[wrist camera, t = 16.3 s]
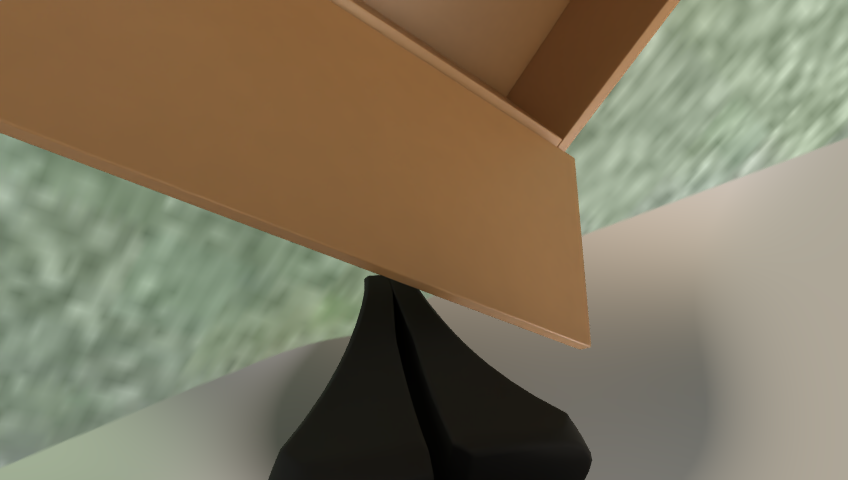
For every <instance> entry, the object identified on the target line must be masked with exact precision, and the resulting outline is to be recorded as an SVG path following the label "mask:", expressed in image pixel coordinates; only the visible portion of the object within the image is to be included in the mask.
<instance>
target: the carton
mask: <svg viewBox="0 0 848 480" xmlns="http://www.w3.org/2000/svg"><path fill="white" fill-rule="evenodd" d="M330 1H331V2H333V3H334V4H336V5H337V6H339V7H340V8H342V9H344V10H345V11H347V12H348V13H350V14H351V15H353V16H354V17H356V18H358V19H359V20H361V21H362V22H364V23H365V24H367V25H368V26H370V27H372V28H373V29H375V30H376V31H378V32H379V33H381V34H382V35H384V36H386V37H387V38H389V39H390V40H392V41H393V42H395V43H396V44H398V45H399V46H401V47H403V48H404V49H406V50H407V51H409V52H410V53H412V54H413V55H415V56H417V57H418V58H420V59H421V60H423V61H424V62H426V63H427V64H429V65H431V66H432V67H434V68H435V69H437V70H438V71H440V72H441V73H443V74H444V75H446V76H448V77H449V78H451V79H452V80H454V81H455V82H457V83H458V84H460V85H462V86H463V87H465V88H466V89H468V90H469V91H471V92H472V93H474V94H476V95H477V96H479V97H480V98H482V99H483V100H485V101H486V102H488V103H489V104H491V105H493V106H494V107H496V108H497V109H499V110H500V111H502V112H503V113H505V114H507V115H508V116H510V117H511V118H513V119H514V120H516V121H517V122H519V123H521V124H522V125H524V126H525V127H527V128H528V129H530V130H531V131H533V132H534V133H536V134H538V135H539V136H541V137H542V138H544V139H545V140H547V141H548V142H550V143H552V144H553V145H555V146H556V147H558V148H559V149H561V150H562V151H564V152H565V151H566V149H567V148H568V147H569V145H570V144H571V143H572V141H573V140H574V139H575V137H576V136H577V135H578V134H579V132H580V131H581V130H582V128H583V127H584V126H585V124H586V123H587V122H588V120H589V119H590V118H591V116H592V115H593V114H594V113H595V111H596V110H597V109H598V107H599V106H600V105H601V103H602V102H603V101H604V99H605V98H606V97H607V96H608V94H609V93H610V92H611V90H612V89H613V88H614V86H615V85H616V84H617V82H618V81H619V80H620V79H621V77H622V76H623V75H624V73H625V72H626V71H627V69H628V68H629V67H630V65H631V64H632V63H633V62H634V60H635V59H636V58H637V56H638V55H639V54H640V52H641V51H642V50H643V48H644V47H645V46H646V45H647V43H648V42H649V41H650V39H651V38H652V37H653V35H654V34H655V33H656V31H657V30H658V29H659V28H660V26H661V25H662V24H663V22H664V21H665V20H666V18H667V17H668V16H669V14H670V13H671V12H672V10H673V9H674V8H675V7H676V5H677V4H678V3H679V1H680V0H330Z"/></svg>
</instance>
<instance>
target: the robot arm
mask: <svg viewBox="0 0 848 480" xmlns="http://www.w3.org/2000/svg"><path fill="white" fill-rule="evenodd" d="M591 462H592V458H591V452H590V451H589V449H588V447H587V445H586V443H585V441H584V439H583V438H582V436H581V434H580V433H579V431H578V429H577V428H576V426H575V425H574V423H573V422H572V421H571V419H570V418H569V416H568V414H567V413H565V412H563V411H561V410H560V409H558V408H556V407H554V406H552V405H550V404H548V403H547V402H545V401H543V400H541V399H539V398H537V397H535V396H534V395H532V394H531V393H529V392H528V391H526V390H524V389H523V388H521V387H520V386H518V385H516V384H515V383H513V382H512V381H510V380H509V379H508V378H506V377H505V376H504V375H502V374H501V373H499V372H498V371H497V370H495V369H494V368H493V367H491V366H490V365H488V364H487V363H486V362H485V361H484V360H483V359H481V358H480V357H479V356H478V355H477V354H476V353H474V352H473V351H472V350H471V349H470V348H469V347H468V346H467V345H466V344H465V343H464V342H463V341H462V340H461V339H460V338H459V337H457V335H456V334H455V333H454V332H453V331H452V330H451V329H450V328H449V327H448V326H447V324H446V323H445V322H444V321H443V320H442V319H441V318H440V316H439V315H438V314H437V313H436V311H435V310H434V309H433V308H432V307H431V305H430V304H429V303H428V301H427V300H426V299H425V297H424V296H423V295H422V293H421V292H420V290H419V289H417V288H414V287H411V286H409V285H406V284H403V283H400V282H398V281H395V280H392V279H390V278H387V277H384V276H382V275H376V276H368V277H366V278H365V279H364V297H363V302H362V306H361V310H360V313H359V316H358V320H357V323H356V326H355V328H354V331H353V334H352V336H351V339H350V342H349V344H348V346H347V348H346V351H345V353H344V355H343V357H342V359H341V361H340V363H339V365H338V367H337V369H336V371H335V373H334V374H333V376H332V378H331V380H330V381H329V383H328V385H327V386H326V388H325V390H324V391H323V393H322V395H321V396H320V398H319V399H318V400H317V402H316V404H315V405H314V406H313V408H312V409H311V411H310V412H309V414H308V415H307V416H306V418H305V419H304V421H303V422H302V423H301V425H300V426H299V427H298V428H297V430H296V431H295V432H294V433H293V434H292V436H291V437H290V438H289V439H288V441H287V442H286V443H285V444H284V446H283V447H282V448H281V449H280V452H279V454H278V456H277V459H276V461H275V464H274V466H273V469H272V471H271V474H270V476H269V479H268V480H585V478H586V476H587V474H588V472H589V469H590V466H591Z"/></svg>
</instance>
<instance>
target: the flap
mask: <svg viewBox="0 0 848 480" xmlns="http://www.w3.org/2000/svg"><path fill="white" fill-rule="evenodd" d="M0 133H2V134H5V135H8V136H10V137H13V138H16V139H18V140H21V141H24V142H26V143H29V144H32V145H34V146H37V147H40V148H42V149H45V150H48V151H50V152H53V153H56V154H58V155H61V156H64V157H66V158H69V159H72V160H74V161H77V162H80V163H82V164H85V165H88V166H90V167H93V168H96V169H98V170H101V171H104V172H106V173H109V174H112V175H115V176H117V177H120V178H123V179H125V180H128V181H131V182H133V183H136V184H139V185H141V186H144V187H147V188H149V189H152V190H155V191H157V192H160V193H163V194H165V195H168V196H171V197H173V198H176V199H179V200H181V201H184V202H187V203H189V204H192V205H195V206H197V207H200V208H203V209H205V210H208V211H211V212H213V213H216V214H219V215H221V216H224V217H227V218H229V219H232V220H235V221H237V222H240V223H243V224H245V225H248V226H251V227H253V228H256V229H259V230H262V231H264V232H267V233H270V234H272V235H275V236H278V237H280V238H283V239H286V240H288V241H291V242H294V243H296V244H299V245H302V246H304V247H307V248H310V249H312V250H315V251H318V252H320V253H323V254H326V255H328V256H331V257H334V258H336V259H339V260H342V261H344V262H347V263H350V264H352V265H355V266H358V267H360V268H363V269H366V270H368V271H371V272H374V273H376V274H379V275H382V276H384V277H387V278H390V279H392V280H395V281H398V282H400V283H403V284H406V285H409V286H411V287H414V288H417V289H419V290H422V291H425V292H427V293H430V294H433V295H435V296H438V297H441V298H443V299H446V300H449V301H451V302H454V303H457V304H460V305H462V306H465V307H468V308H470V309H473V310H476V311H478V312H481V313H483V314H486V315H489V316H491V317H494V318H497V319H500V320H502V321H505V322H508V323H510V324H513V325H516V326H518V327H521V328H523V329H526V330H529V331H531V332H534V333H537V334H540V335H542V336H545V337H547V338H550V339H553V340H556V341H558V342H561V343H564V344H566V345H569V346H572V347H574V348H577V349H585V348H589V347H591V341H590V328H589V317H588V306H587V295H586V283H585V272H584V260H583V249H582V238H581V226H580V215H579V203H578V192H577V181H576V169H575V159H574V158H573V157H572V156H570V155H569V154H567V153H566V152H564V151H562V150H561V149H559V148H558V147H556V146H555V145H553V144H552V143H550V142H548V141H547V140H545V139H544V138H542V137H541V136H539V135H538V134H536V133H534V132H533V131H531V130H530V129H528V128H527V127H525V126H524V125H522V124H521V123H519V122H517V121H516V120H514V119H513V118H511V117H510V116H508V115H507V114H505V113H503V112H502V111H500V110H499V109H497V108H496V107H494V106H493V105H491V104H489V103H488V102H486V101H485V100H483V99H482V98H480V97H479V96H477V95H476V94H474V93H472V92H471V91H469V90H468V89H466V88H465V87H463V86H462V85H460V84H458V83H457V82H455V81H454V80H452V79H451V78H449V77H448V76H446V75H444V74H443V73H441V72H440V71H438V70H437V69H435V68H434V67H432V66H431V65H429V64H427V63H426V62H424V61H423V60H421V59H420V58H418V57H417V56H415V55H413V54H412V53H410V52H409V51H407V50H406V49H404V48H403V47H401V46H399V45H398V44H396V43H395V42H393V41H392V40H390V39H389V38H387V37H386V36H384V35H382V34H381V33H379V32H378V31H376V30H375V29H373V28H372V27H370V26H368V25H367V24H365V23H364V22H362V21H361V20H359V19H358V18H356V17H354V16H353V15H351V14H350V13H348V12H347V11H345V10H344V9H342V8H340V7H339V6H337V5H336V4H334V3H333V2H331V1H330V0H0Z"/></svg>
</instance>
